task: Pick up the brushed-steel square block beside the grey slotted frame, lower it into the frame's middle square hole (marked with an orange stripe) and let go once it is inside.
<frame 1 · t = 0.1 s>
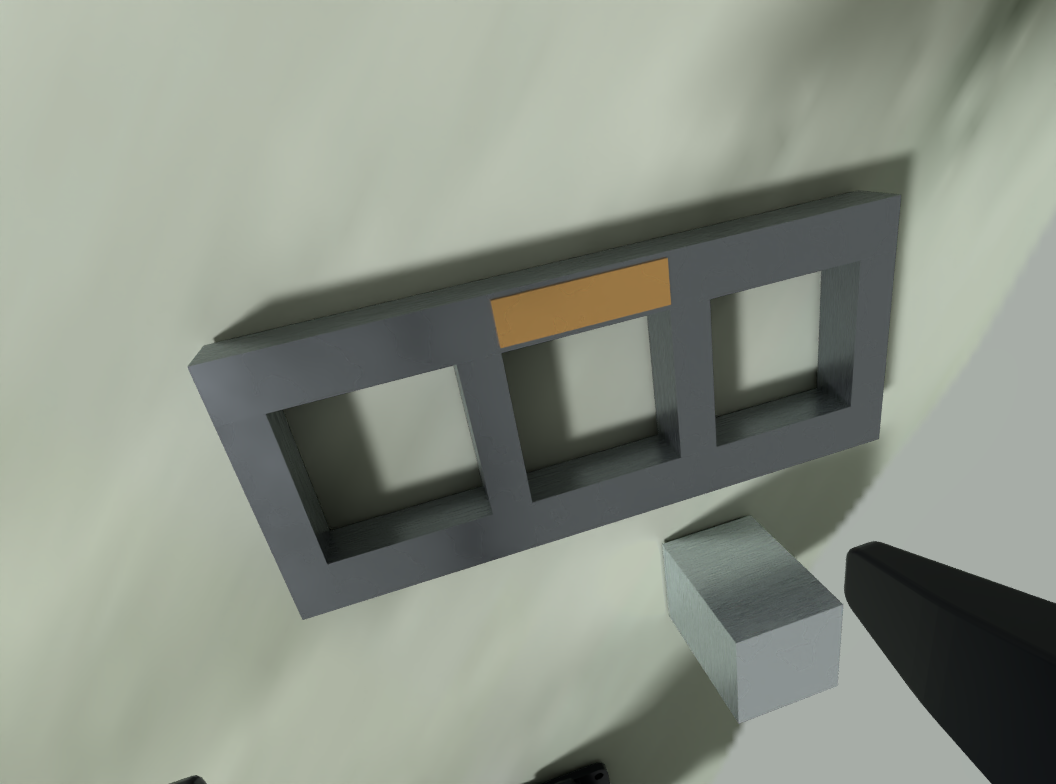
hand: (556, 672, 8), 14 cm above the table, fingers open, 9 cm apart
steel block: (708, 566, 28), on the table
grey slotted frame: (580, 388, 23), on the table
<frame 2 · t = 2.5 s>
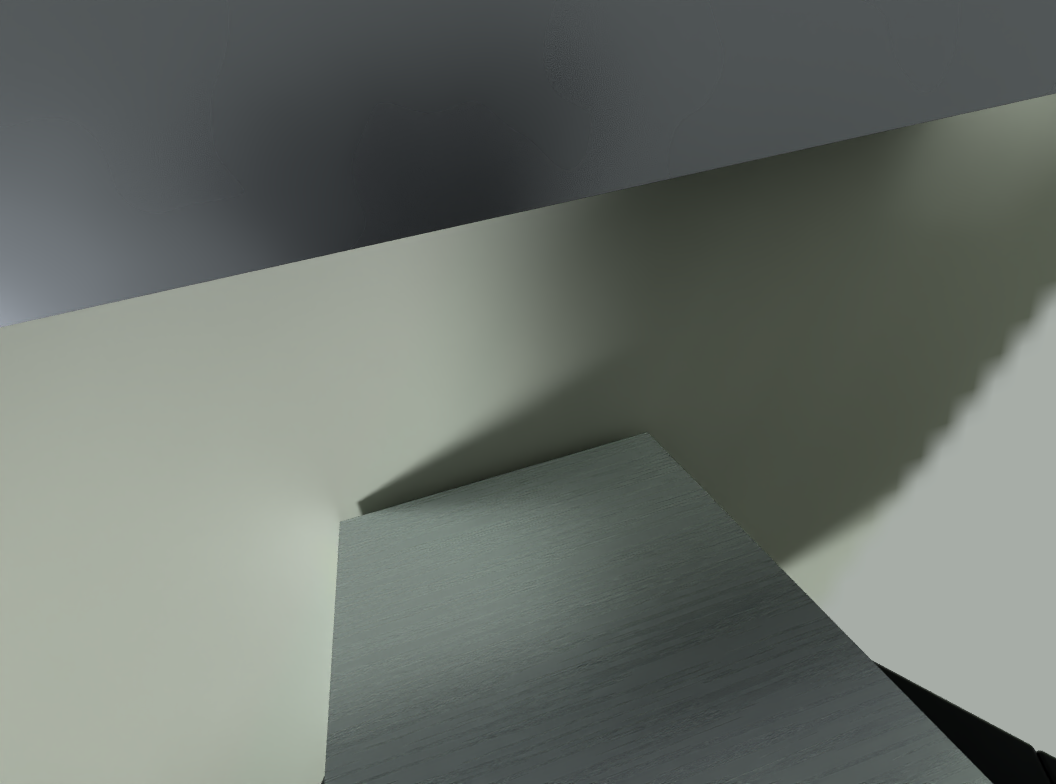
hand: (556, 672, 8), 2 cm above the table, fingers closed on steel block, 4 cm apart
steel block: (527, 594, 9), on the table, touching gripper
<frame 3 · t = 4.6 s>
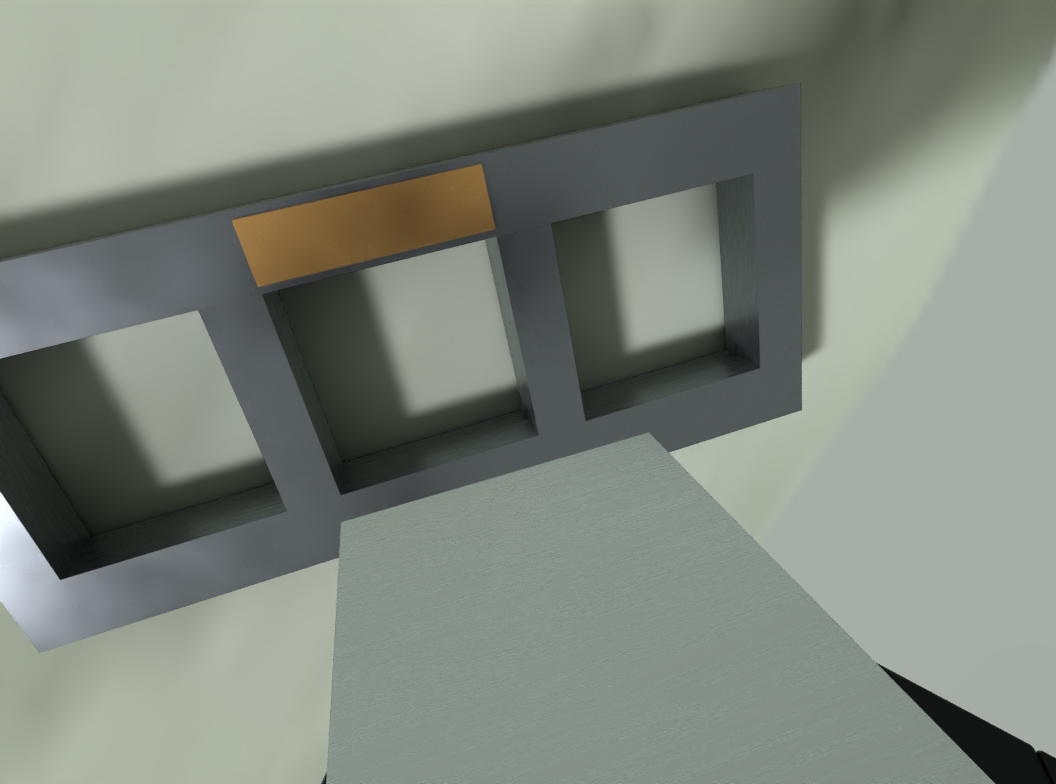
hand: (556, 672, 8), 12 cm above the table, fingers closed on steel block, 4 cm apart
steel block: (528, 594, 9), point 10 cm above the table, touching gripper
grey slotted frame: (409, 350, 18), on the table
when the fingers open (3 cm above the table, at t = 6.7 s): steel block drops 2 cm, resting in grey slotted frame.
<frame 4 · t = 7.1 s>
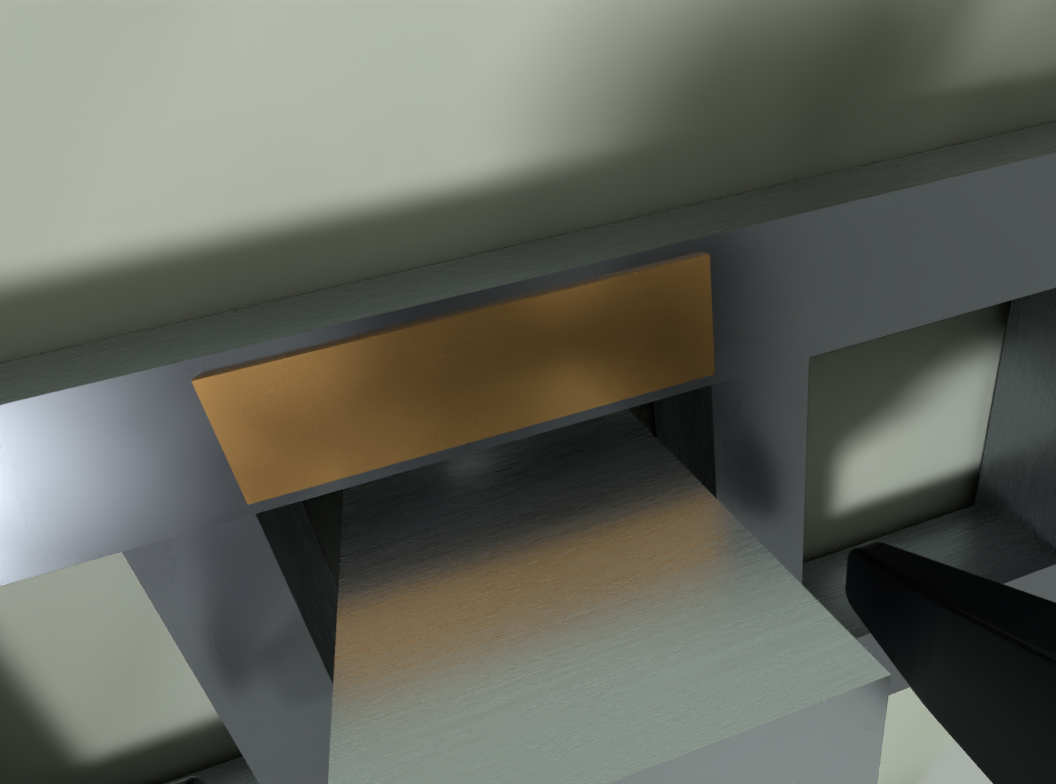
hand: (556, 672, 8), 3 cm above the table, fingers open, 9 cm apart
steel block: (507, 535, 11), resting in grey slotted frame
grey slotted frame: (507, 537, 11), on the table
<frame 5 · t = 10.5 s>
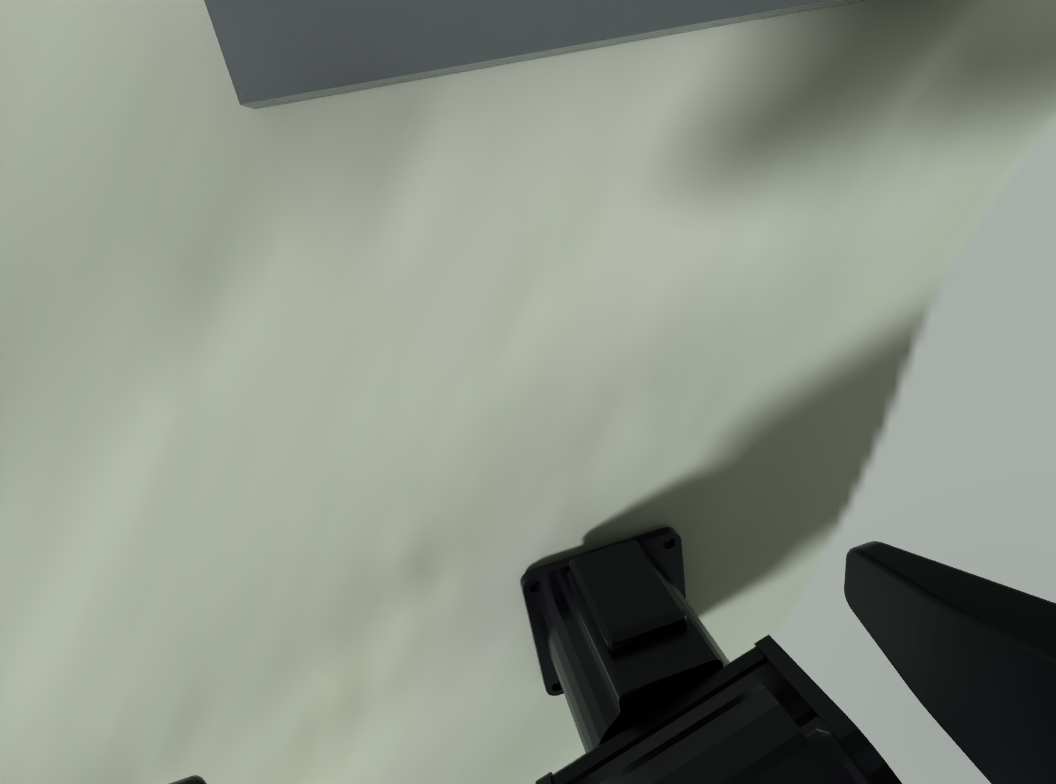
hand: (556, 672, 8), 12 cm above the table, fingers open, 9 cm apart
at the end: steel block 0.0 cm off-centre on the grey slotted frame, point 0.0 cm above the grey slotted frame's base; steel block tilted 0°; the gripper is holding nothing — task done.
